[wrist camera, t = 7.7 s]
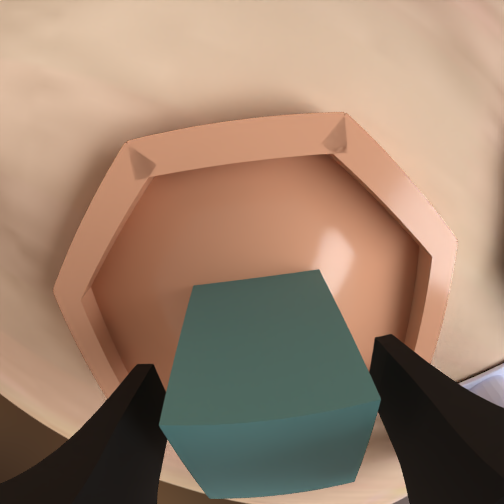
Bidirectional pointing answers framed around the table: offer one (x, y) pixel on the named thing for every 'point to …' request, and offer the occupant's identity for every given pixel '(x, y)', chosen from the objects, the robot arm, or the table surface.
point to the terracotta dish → (252, 236)
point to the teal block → (268, 389)
